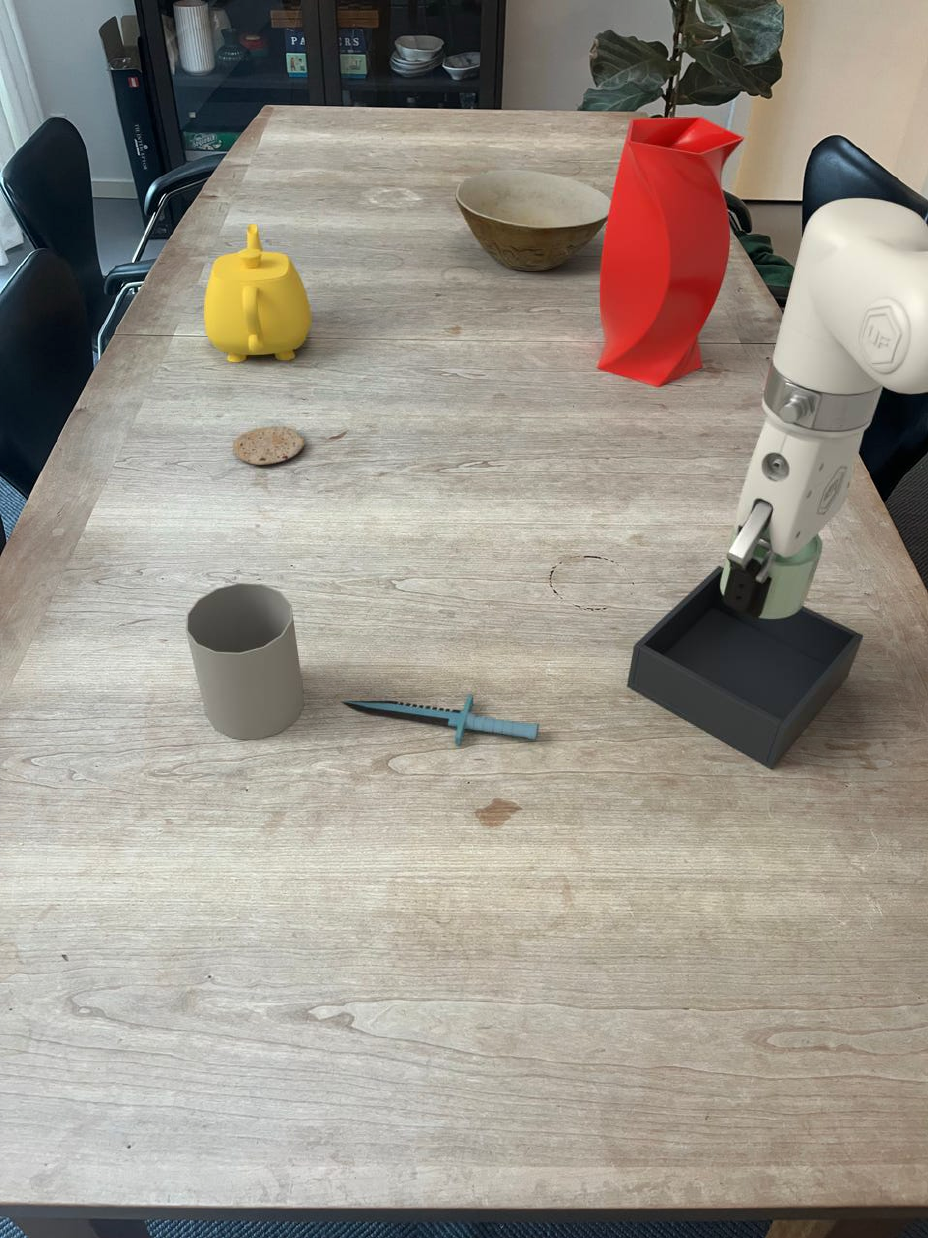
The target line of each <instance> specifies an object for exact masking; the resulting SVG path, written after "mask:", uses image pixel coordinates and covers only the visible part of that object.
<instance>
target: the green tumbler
mask: <svg viewBox="0 0 928 1238" xmlns="http://www.w3.org/2000/svg"><path fill="white" fill-rule="evenodd" d="M762 536H764V537H766V538H768V539H770V535H769V531H768V530H765V532H764V534H763V535H762ZM737 537H738V536H737V534H736V532H735V528H734V527H733V529H732V534H731V537H730V541H729V544H728V549H727V553H726V555H727V554H728V552H729V550H730V548H731V547H732V545H733V543H734V542H735V540H736V538H737ZM823 543H824V542H823V540H822V539H821V536H820V535H819V532H818V533H817V534H816V535H815V536H814V537H813V538H812V539H811V540H810V541H809V542H808V543H807V544H806V545H805V546H804V547H803V548H802V549H801V550H800V551H799V552H798V553H796V554H795V555H793V556H790V557H786V558H784V557H782V556H781V555H779V554H778V555H777V557H776V560H775V562H774V564H773V566H772V568H771V570H770V573H769V575H768V576H769V577H770V578H772V581H771V584H770V587H769V591H768V594H767V597H766V601H765V604H764V608H763V611H762V614H761V615H760V616H759V617H758V618H764V619H780V618H785V617H788V616H791V615H793V614H795V613H796V612H798V611H799V610H800V609H801V608H802V606H804V605H805V602H806V600H807V597H808V595H809V591H810V588H811V585H812V582H813V579H814V576H815V574H816V571H817V567H818V565H819V561H820V559H821V555H822V553H823ZM767 551H768V550H767V549H765V548H763V547H760V546H758V545H756V547H755V549H754V551H753V559H755V560H757V561H758V562H759V563H760V564H762V562H763V560H764V557H765V555H766V553H767ZM729 565H730V562H729V561H728V559H727V556H726V558H725V561H724V565H723V568H724V569H723V573H722V577H721V581H720V589H721V592H722V594H723V595H724V591H725V587H726V583H727V580H728V576H729V572H730V568H729Z"/></svg>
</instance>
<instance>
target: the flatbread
mask: <svg viewBox="0 0 928 1238" xmlns="http://www.w3.org/2000/svg"><path fill="white" fill-rule="evenodd" d="M305 445H306V440H305V439H304V438H303V437H302V436H301V435H300V434H298V432H296V431H295V430H294V429H292V428H290V427H287V426H264V427H259V428H256V429H251V430H248V431H246V432H244V433H243V434H240V435H239V436H238V437H236V438H235V439H234V440H233V443H232V449H233V452H234V454H235V456H236V457H237V458H238V459H239V460H241V461H243V462H246V463H248V464H250V465H254V466H265V465H271V464H272V465H273V464H277V463H278V464H279V463H282V462H285V461H287V460H289V459H292V458H294V457H295V456H296V455H298V454H299V453H300V452H301V451H302V449H303V448H304V446H305Z"/></svg>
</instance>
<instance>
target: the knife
mask: <svg viewBox="0 0 928 1238" xmlns="http://www.w3.org/2000/svg"><path fill="white" fill-rule="evenodd" d="M341 703H343V704H345V705H346V706H348V707H349V708H351V709H353V710H356V711H359V712H362V713H365V714H371V715H376V716H377V715H378V716H385V717H392V718H397V719H405V720H412V721H419V722H427V723H433V724H440V725H447V726H448V727H454V728H456V733H455V737H454V739H455V741H454V742H455V745H457V746H461V745H462V741H463V740H464V736H465V733H466V730H471V731H473V730H474V731H477V732H485V733H492V734H498V735H499V734H500V735H502V734H503V735H507V736H514V737H520V738H527V739H528V740H533V741H536V740H537V738H538V734H539V727H540V726H539V723H535V722H534V723H528V722H523V721H522V722H521V721H515V720H508V719H507V720H505V719H502V718H501V719H500V718H497V719H496V718H493V717H486V716H479V715H478V716H477V715H475V714H474V713H472V710H473V709H472V708H473V705H474V694H470V693H468V694H467V697H466V700H465V703H464V706H463V708H461V709H452V710H451V708H446V709H444V707H439V709H438V707H437V706H433V707H432V708H431V705H426V706H425V707H424V704H419V706H418V704H417V703H413V704H412V705H411V702H406V703H405V702H403V701H401V702H399V701H397V700H396V701H395V700H347V701H344V700H343V701H342V700H341Z"/></svg>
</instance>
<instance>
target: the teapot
mask: <svg viewBox="0 0 928 1238" xmlns="http://www.w3.org/2000/svg"><path fill="white" fill-rule="evenodd" d="M246 239H247V240H246V248H243V249H241V250H239V251H238V252H233V253H227V254H223V255H220V256H218V257H217V258H216V259H215V261H214V263H213V265H212V266H211V267H212V268H211V270H210V274H209V276H208V277H209V278H208V280H207V281H208V282H207V286H206V290H205V294H204V302H203V321H204V329H205V330H204V331H205V334H206V336H207V338H208V340H209V341H210V342H211V343H212V345H213V347H215V349H217V350H218V351H219V352H221V353H222V352H223V353H226V354H228V355H227V358H226V359H227V361H229V362H230V363H242V362H245V361H246V360H247V358H248V356H260V355H262V356H263V355H271V354H274V356H275V359H277V360H279V361H290V360H292V359H294V358H295V357H296V354H295V352H294V351H293V350H296V349H298V348H300V347H302V346H303V344H304V342H305V341H306V339H307V337H308V335H309V332H310V329H311V325H312V311H311V305H310V302H309V298H308V295H307V291H306V289H305V286H304V283H303V281H302V278H301V277H300V274H299V273H298V270H297V269H296V267H295V265H294V263H293V262H292V260H291V259H290V257H289V256H288V255H287V254H284V253H282V252H274V251H264V250H263V248H262V243H261V240H260V233H259V228H258V226H257V225H256V224H255V223H250V224H248V226H247V229H246Z"/></svg>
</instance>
